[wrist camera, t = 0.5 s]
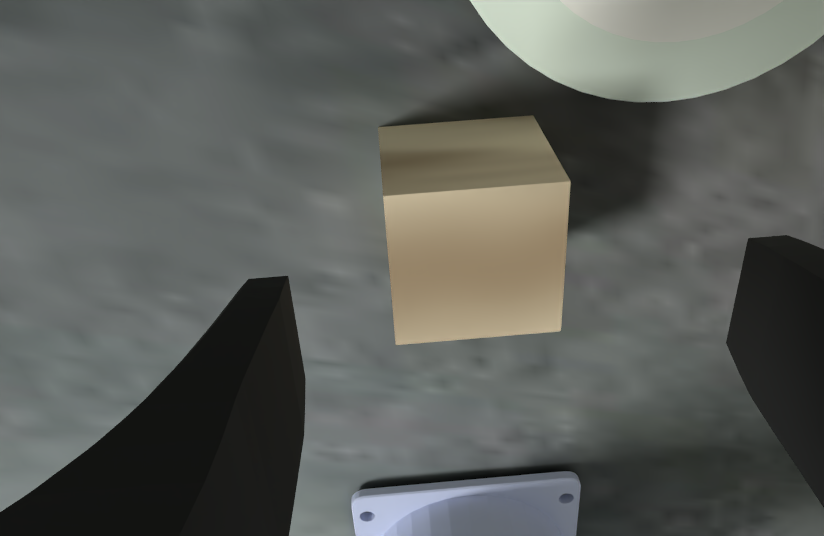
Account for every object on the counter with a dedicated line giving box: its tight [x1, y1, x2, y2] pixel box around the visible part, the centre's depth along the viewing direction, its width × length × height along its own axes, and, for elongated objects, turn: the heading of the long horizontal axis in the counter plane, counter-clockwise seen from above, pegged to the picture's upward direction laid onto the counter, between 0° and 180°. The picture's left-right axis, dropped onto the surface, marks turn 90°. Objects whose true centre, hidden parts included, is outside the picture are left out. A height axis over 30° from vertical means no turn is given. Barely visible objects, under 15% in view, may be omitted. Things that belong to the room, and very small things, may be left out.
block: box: [378, 115, 571, 345], centre depth 19 cm, size 4×4×4 cm
